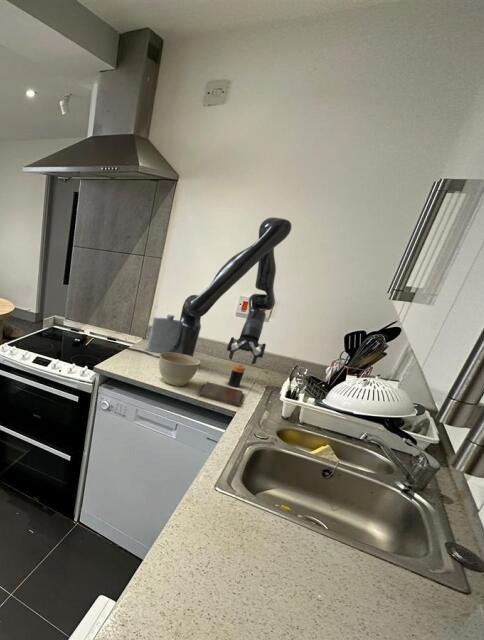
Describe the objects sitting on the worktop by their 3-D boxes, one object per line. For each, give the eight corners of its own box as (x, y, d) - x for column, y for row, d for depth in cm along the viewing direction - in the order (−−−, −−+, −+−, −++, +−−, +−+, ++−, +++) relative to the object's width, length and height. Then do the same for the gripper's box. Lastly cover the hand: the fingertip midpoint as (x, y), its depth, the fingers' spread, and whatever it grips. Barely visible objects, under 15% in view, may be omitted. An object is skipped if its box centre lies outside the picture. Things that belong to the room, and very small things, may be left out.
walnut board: (199, 395, 157) (200, 393, 157) (206, 384, 170) (206, 381, 169) (237, 406, 151) (238, 403, 150) (241, 393, 163) (242, 390, 163)
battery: (227, 385, 171) (233, 365, 167) (228, 382, 174) (234, 363, 171) (238, 388, 169) (245, 368, 165) (239, 385, 172) (246, 365, 168)
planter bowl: (201, 386, 167) (208, 362, 163) (176, 392, 159) (183, 367, 155) (170, 372, 180) (176, 350, 175) (146, 377, 172) (151, 354, 167)
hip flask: (176, 353, 208) (186, 316, 200) (178, 355, 205) (187, 318, 197) (146, 348, 211) (154, 312, 203) (147, 351, 207) (155, 314, 199)
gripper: (235, 323, 176) (224, 353, 171) (271, 329, 169) (261, 361, 165) (233, 332, 182) (222, 361, 178) (268, 339, 175) (258, 369, 171)
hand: (241, 361), depth 171 cm, fingers open, 8 cm apart
